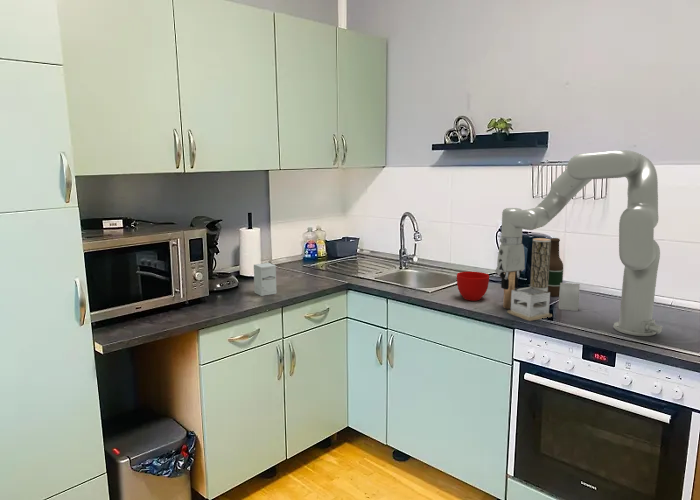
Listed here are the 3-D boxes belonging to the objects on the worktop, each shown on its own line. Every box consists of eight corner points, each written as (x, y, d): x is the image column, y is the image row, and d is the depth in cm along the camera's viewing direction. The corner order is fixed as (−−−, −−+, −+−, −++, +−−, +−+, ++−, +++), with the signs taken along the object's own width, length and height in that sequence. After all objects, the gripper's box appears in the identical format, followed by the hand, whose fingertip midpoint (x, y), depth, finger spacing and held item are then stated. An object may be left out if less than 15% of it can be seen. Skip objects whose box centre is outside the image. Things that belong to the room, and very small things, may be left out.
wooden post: (516, 307, 200) (518, 261, 196) (508, 309, 198) (510, 262, 195) (508, 305, 203) (510, 260, 200) (500, 306, 201) (502, 261, 198)
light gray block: (578, 311, 196) (579, 285, 194) (558, 309, 198) (560, 283, 196) (577, 308, 199) (579, 283, 197) (558, 306, 201) (560, 281, 199)
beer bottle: (565, 295, 218) (569, 238, 213) (553, 297, 214) (556, 240, 210) (550, 291, 224) (553, 236, 220) (537, 293, 220) (541, 237, 216)
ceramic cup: (500, 297, 215) (501, 273, 214) (475, 304, 204) (476, 280, 203) (474, 291, 225) (474, 268, 223) (449, 298, 214) (450, 274, 212)
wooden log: (535, 303, 206) (539, 241, 202) (525, 298, 213) (529, 238, 208) (550, 301, 208) (554, 240, 204) (540, 297, 214) (543, 237, 210)
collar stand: (551, 316, 188) (553, 292, 187) (529, 321, 184) (530, 296, 182) (529, 309, 198) (530, 286, 197) (507, 312, 193) (508, 289, 192)
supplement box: (261, 296, 218) (260, 267, 216) (254, 292, 224) (253, 264, 222) (277, 294, 222) (276, 265, 220) (269, 290, 228) (268, 262, 226)
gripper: (501, 244, 189) (499, 292, 192) (535, 240, 196) (532, 287, 200) (487, 241, 196) (485, 288, 199) (520, 238, 203) (518, 283, 206)
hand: (509, 287), depth 199 cm, fingers closed on wooden post, 4 cm apart
